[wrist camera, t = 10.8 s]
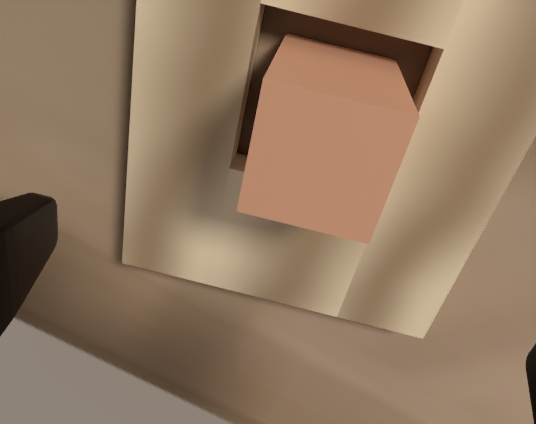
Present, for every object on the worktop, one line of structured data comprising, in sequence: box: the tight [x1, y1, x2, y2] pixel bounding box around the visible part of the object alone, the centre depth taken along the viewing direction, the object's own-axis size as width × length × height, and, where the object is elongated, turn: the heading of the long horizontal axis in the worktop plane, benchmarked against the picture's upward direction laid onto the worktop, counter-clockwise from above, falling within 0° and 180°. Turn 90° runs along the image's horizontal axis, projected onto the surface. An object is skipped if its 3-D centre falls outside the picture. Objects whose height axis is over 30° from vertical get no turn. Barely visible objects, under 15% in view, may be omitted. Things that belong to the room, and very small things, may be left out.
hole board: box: [122, 0, 536, 339], centre depth 17 cm, size 14×18×2 cm
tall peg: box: [237, 33, 420, 244], centre depth 15 cm, size 4×4×6 cm
